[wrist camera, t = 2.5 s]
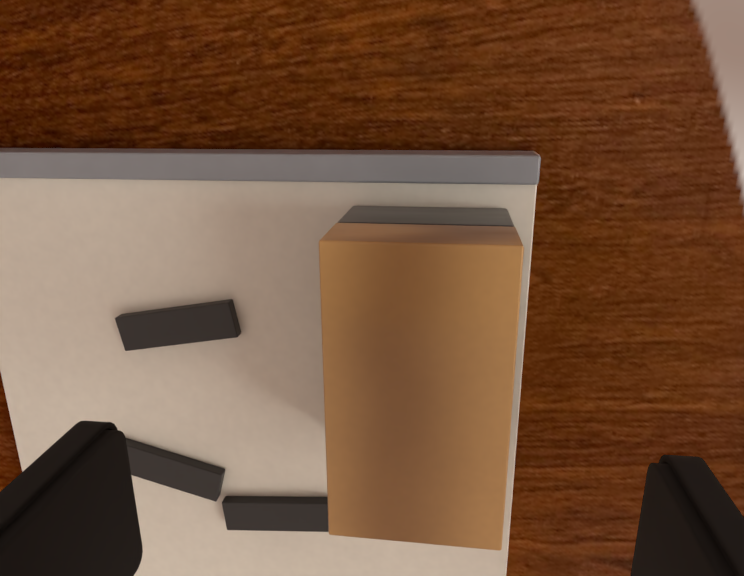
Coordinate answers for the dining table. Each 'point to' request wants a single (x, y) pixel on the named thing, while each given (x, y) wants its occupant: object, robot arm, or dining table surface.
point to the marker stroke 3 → (276, 513)
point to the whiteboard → (225, 356)
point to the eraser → (419, 371)
